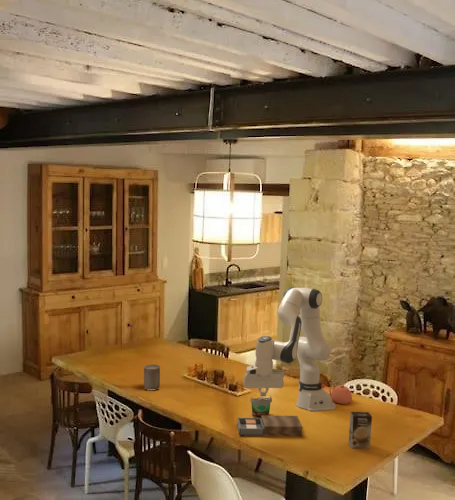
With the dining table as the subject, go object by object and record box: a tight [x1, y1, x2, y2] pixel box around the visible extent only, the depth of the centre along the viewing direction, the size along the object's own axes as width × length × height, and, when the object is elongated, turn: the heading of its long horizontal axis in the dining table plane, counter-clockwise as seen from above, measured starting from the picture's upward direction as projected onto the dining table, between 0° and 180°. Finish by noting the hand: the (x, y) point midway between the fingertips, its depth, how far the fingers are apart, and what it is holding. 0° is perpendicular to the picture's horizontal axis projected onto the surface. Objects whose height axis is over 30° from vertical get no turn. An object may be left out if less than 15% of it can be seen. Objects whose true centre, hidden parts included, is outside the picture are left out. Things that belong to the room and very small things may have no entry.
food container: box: [249, 396, 273, 418], centre depth 323 cm, size 12×6×10 cm, turn 105°
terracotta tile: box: [245, 420, 256, 425], centre depth 307 cm, size 5×5×2 cm
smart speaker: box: [143, 364, 161, 390], centre depth 364 cm, size 10×10×15 cm
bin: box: [236, 417, 265, 437], centre depth 304 cm, size 12×15×4 cm
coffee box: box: [348, 411, 373, 449], centre depth 288 cm, size 9×6×16 cm
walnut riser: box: [261, 414, 303, 437], centre depth 304 cm, size 19×15×5 cm
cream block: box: [246, 425, 257, 428], centre depth 300 cm, size 5×5×2 cm
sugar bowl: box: [328, 384, 353, 405], centre depth 351 cm, size 12×14×10 cm
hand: (263, 396), depth 299 cm, fingers closed
